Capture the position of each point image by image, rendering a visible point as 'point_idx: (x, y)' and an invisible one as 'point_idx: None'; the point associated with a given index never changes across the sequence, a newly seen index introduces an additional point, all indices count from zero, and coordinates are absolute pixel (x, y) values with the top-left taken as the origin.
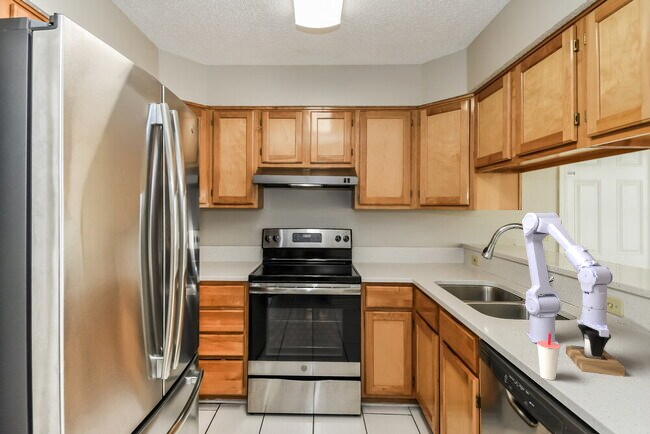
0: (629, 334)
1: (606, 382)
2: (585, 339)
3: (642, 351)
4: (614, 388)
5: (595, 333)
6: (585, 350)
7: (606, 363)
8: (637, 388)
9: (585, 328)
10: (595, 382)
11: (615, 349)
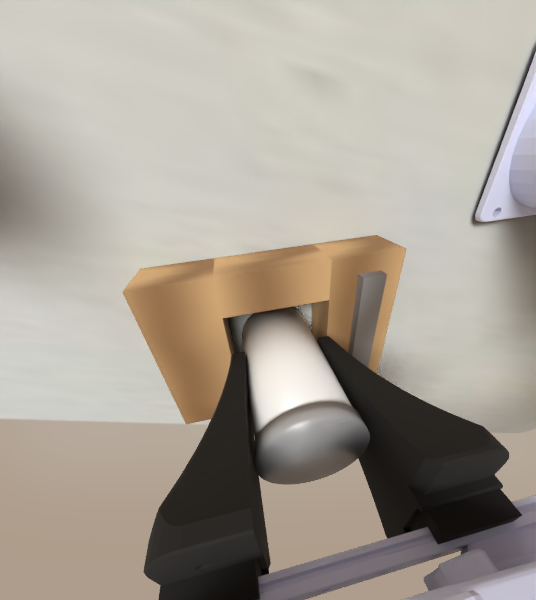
0: (527, 415)
1: (67, 342)
2: (298, 396)
3: None
4: (14, 359)
5: (166, 582)
6: (274, 337)
7: (191, 382)
8: (94, 410)
9: (407, 473)
10: (18, 305)
11: (428, 387)
